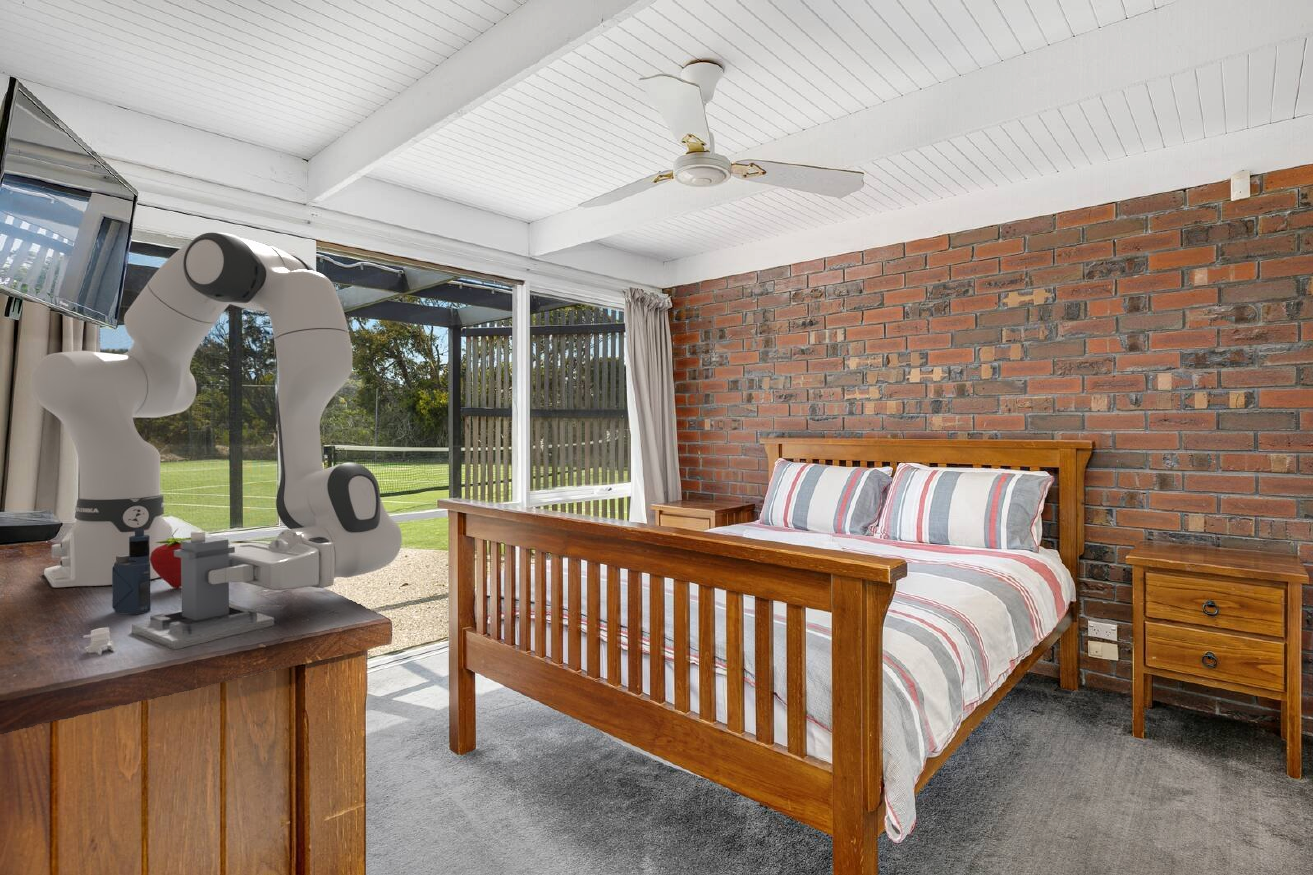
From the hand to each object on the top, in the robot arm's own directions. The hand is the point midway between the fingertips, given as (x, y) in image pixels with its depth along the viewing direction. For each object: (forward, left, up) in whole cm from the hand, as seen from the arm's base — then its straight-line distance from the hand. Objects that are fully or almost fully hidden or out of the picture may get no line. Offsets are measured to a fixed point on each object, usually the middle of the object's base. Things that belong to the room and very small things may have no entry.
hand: (197, 574), depth 90 cm
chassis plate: (0, +1, -7) cm, 7 cm away
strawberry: (-27, +9, -8) cm, 30 cm away
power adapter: (+1, -11, -8) cm, 13 cm away
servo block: (0, +1, -5) cm, 6 cm away
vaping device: (-17, -1, -8) cm, 19 cm away
